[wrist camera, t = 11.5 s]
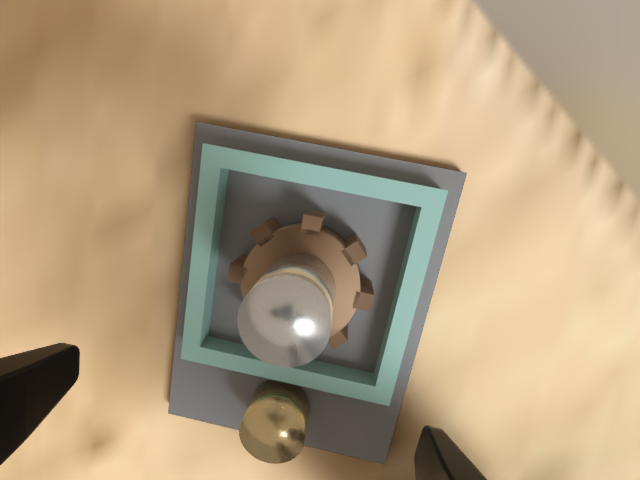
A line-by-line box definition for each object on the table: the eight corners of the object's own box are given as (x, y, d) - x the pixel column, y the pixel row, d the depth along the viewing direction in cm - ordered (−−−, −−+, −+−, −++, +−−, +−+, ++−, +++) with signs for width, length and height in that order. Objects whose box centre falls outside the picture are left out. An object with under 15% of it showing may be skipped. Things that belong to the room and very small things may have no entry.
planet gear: (385, 224, 17) (402, 253, 12) (355, 347, 19) (357, 426, 13) (250, 197, 18) (200, 211, 12) (233, 320, 19) (182, 385, 14)
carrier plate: (462, 172, 17) (485, 173, 14) (383, 456, 21) (388, 502, 18) (201, 123, 18) (172, 114, 15) (173, 406, 22) (145, 443, 19)
